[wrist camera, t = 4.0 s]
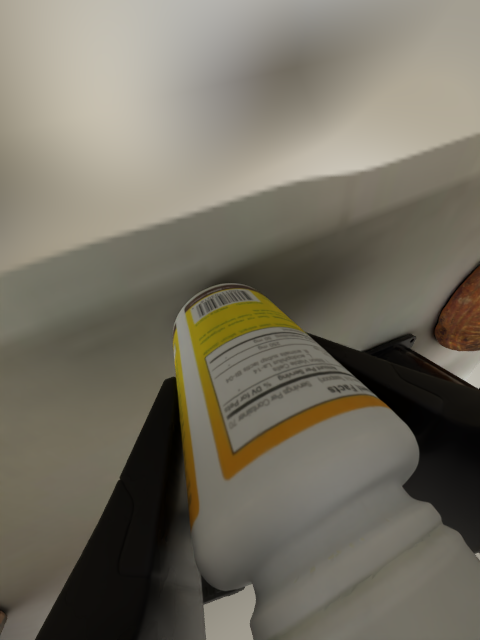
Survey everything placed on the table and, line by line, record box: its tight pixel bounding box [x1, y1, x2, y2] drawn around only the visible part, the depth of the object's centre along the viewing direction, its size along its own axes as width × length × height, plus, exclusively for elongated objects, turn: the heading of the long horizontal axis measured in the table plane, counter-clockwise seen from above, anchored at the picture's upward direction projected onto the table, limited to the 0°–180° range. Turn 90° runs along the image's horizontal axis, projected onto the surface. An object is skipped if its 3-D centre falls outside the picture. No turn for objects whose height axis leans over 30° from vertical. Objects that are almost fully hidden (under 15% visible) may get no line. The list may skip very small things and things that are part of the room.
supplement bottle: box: [172, 283, 480, 640], centre depth 7 cm, size 6×6×10 cm
